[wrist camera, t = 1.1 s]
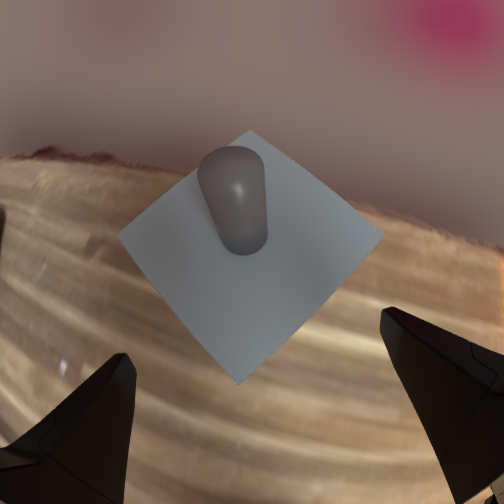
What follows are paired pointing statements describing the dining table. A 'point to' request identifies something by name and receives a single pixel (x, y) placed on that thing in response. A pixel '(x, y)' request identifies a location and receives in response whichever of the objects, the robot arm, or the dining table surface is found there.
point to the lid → (247, 250)
